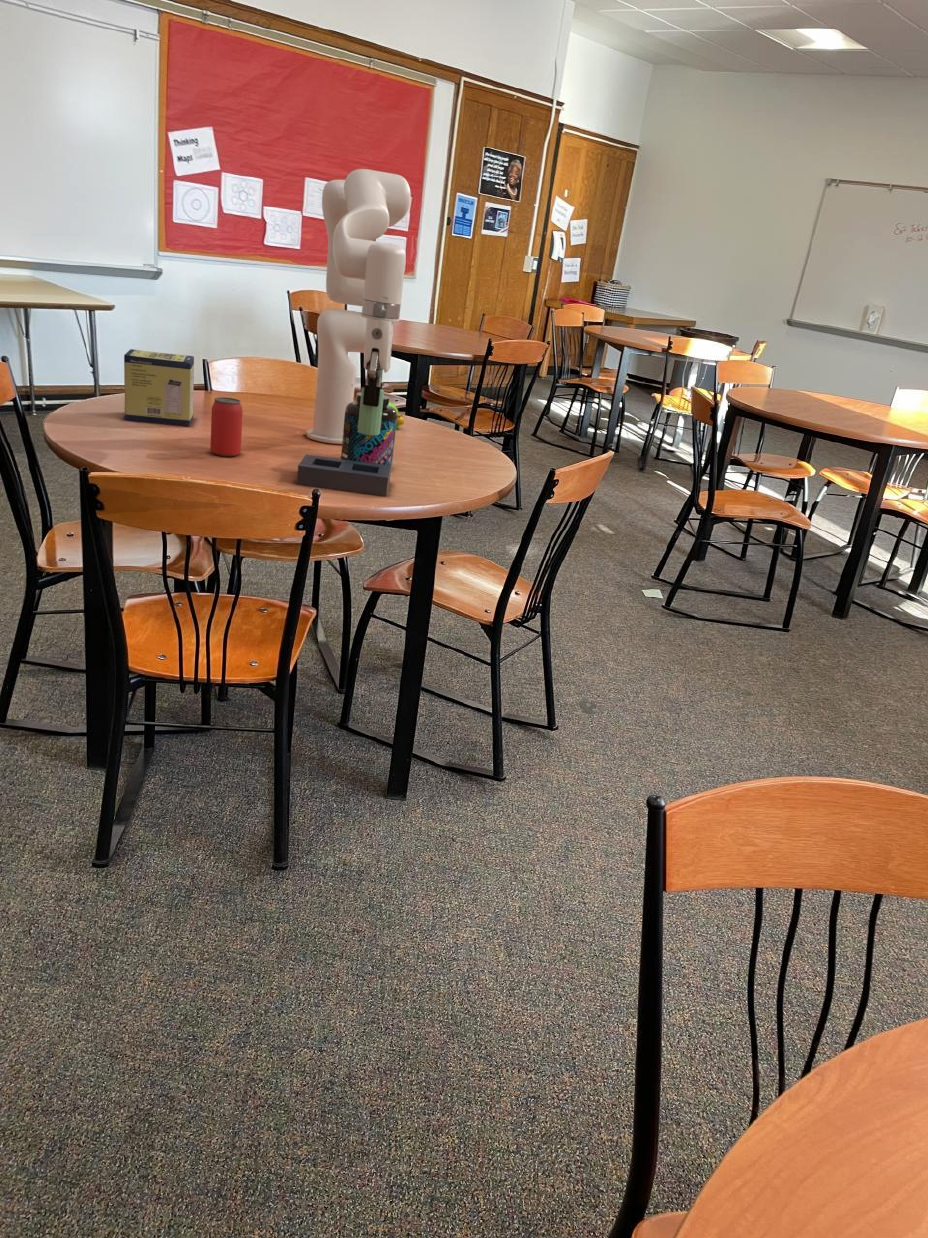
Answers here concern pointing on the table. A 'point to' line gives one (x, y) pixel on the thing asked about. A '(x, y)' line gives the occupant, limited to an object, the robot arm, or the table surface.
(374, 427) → the bottle
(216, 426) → the beer can
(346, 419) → the container
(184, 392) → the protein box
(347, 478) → the hole block
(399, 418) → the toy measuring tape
